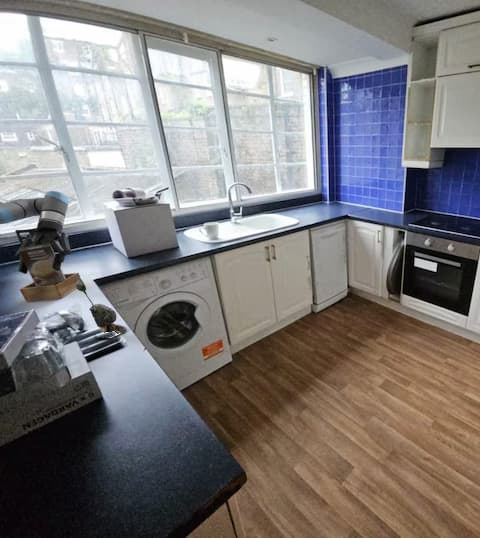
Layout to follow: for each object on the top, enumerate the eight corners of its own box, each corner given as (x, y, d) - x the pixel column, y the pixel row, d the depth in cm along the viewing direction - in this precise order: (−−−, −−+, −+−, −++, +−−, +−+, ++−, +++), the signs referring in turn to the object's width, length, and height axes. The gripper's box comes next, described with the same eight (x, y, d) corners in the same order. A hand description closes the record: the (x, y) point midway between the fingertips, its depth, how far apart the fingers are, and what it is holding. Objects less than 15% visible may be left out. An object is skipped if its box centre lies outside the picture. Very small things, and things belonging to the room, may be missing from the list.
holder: (48, 258, 167) (35, 224, 159) (60, 259, 166) (47, 225, 158) (26, 265, 157) (10, 229, 149) (38, 267, 156) (23, 231, 148)
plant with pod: (98, 347, 89) (72, 289, 82) (93, 333, 97) (68, 278, 89) (130, 335, 95) (108, 279, 87) (123, 322, 102) (102, 270, 94)
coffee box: (36, 288, 119) (17, 251, 113) (36, 284, 123) (18, 248, 117) (66, 281, 125) (50, 245, 118) (66, 277, 129) (50, 242, 123)
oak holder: (26, 302, 118) (19, 289, 116) (50, 287, 131) (45, 275, 128) (62, 298, 121) (56, 285, 118) (83, 284, 133) (78, 272, 131)
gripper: (87, 226, 132) (79, 271, 124) (26, 230, 128) (14, 277, 120) (75, 217, 126) (65, 264, 118) (10, 221, 121) (-5, 270, 113)
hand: (39, 271), depth 119 cm, fingers closed on coffee box, 11 cm apart
